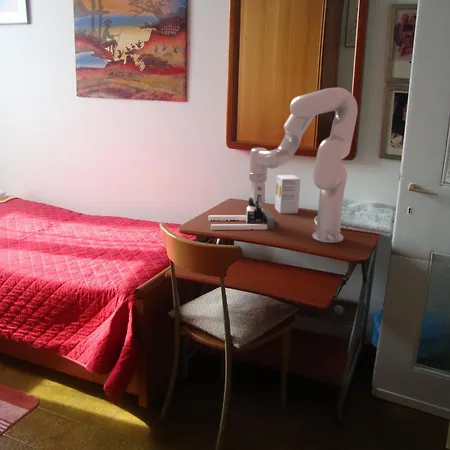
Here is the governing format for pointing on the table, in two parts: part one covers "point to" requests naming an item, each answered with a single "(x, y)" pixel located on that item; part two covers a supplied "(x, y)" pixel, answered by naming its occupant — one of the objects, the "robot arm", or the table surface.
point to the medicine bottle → (250, 214)
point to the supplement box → (287, 194)
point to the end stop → (268, 219)
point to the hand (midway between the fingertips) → (256, 216)
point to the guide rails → (233, 226)
